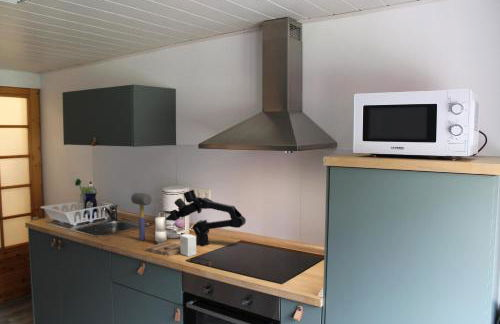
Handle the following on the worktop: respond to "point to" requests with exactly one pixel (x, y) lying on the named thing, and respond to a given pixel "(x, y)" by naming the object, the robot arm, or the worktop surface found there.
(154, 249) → the socket board
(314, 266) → the worktop surface
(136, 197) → the rubber mallet
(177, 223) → the cupcake
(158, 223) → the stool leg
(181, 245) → the small box
